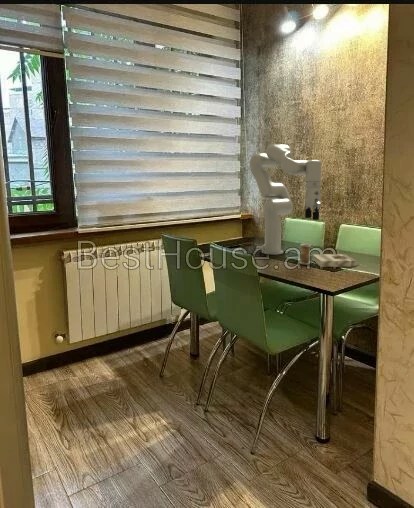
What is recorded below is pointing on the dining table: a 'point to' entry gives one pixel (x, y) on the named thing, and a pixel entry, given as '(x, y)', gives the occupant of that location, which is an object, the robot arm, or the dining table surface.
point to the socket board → (334, 260)
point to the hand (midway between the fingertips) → (311, 218)
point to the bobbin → (305, 254)
